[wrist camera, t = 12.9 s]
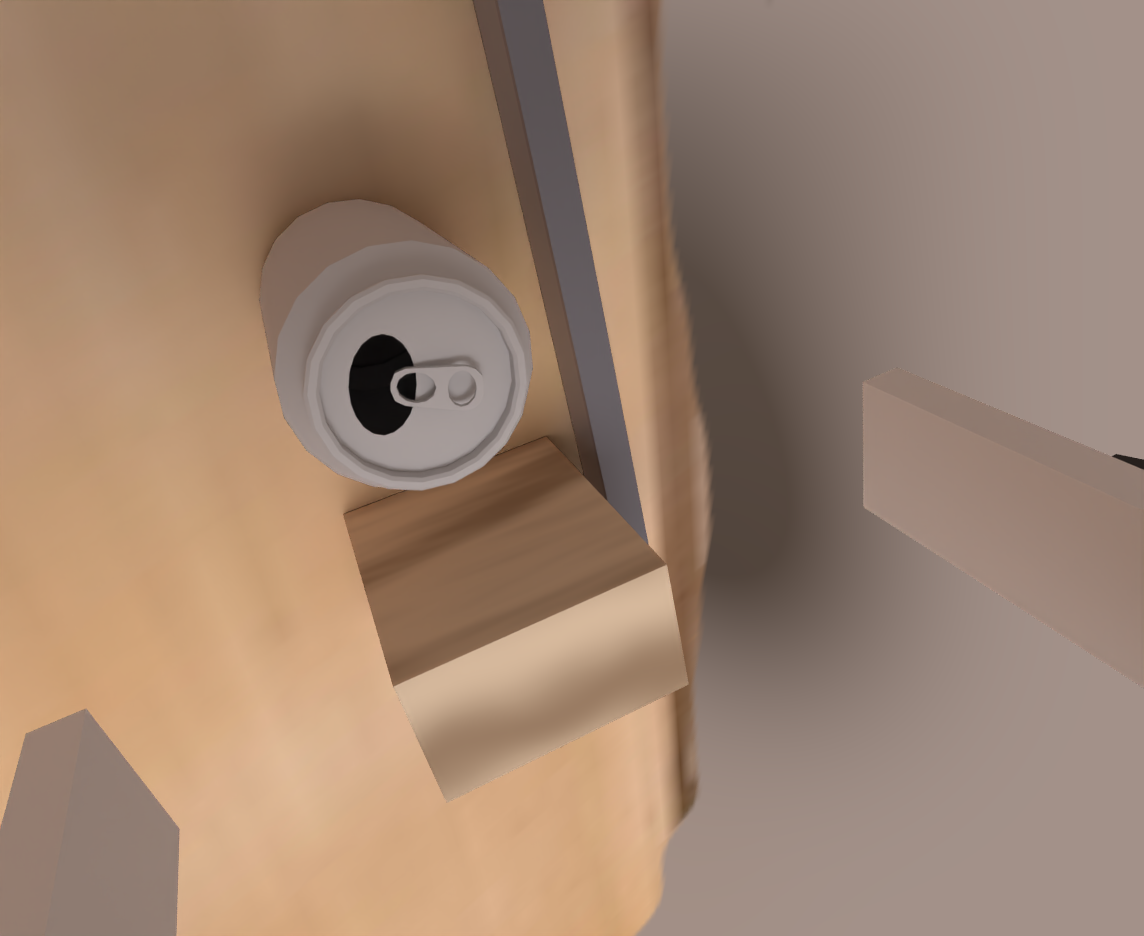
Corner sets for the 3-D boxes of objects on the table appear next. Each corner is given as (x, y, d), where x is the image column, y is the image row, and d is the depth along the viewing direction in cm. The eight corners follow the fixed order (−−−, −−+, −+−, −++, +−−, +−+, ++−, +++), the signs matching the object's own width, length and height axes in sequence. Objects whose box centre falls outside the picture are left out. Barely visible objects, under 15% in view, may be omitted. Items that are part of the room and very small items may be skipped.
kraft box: (343, 514, 35) (392, 686, 25) (549, 435, 37) (670, 562, 27) (386, 614, 38) (446, 803, 28) (574, 534, 40) (691, 682, 30)
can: (249, 191, 28) (266, 248, 18) (451, 200, 31) (562, 253, 21) (266, 387, 31) (288, 528, 21) (448, 379, 34) (543, 500, 24)
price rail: (453, -83, 27) (475, -99, 25) (495, -92, 27) (521, -108, 25) (597, 533, 41) (620, 560, 38) (624, 521, 41) (649, 547, 39)
